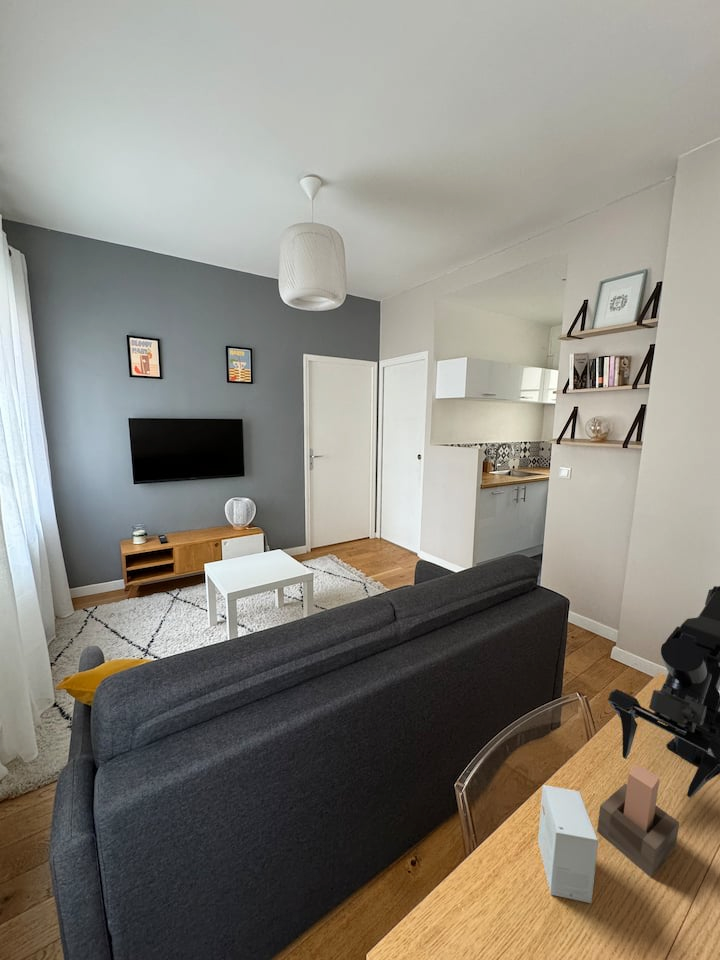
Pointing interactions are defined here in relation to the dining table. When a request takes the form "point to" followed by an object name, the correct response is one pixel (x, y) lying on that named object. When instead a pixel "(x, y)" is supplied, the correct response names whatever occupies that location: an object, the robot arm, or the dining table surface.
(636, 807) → the peg
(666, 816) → the socket block
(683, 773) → the dining table surface
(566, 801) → the small box
